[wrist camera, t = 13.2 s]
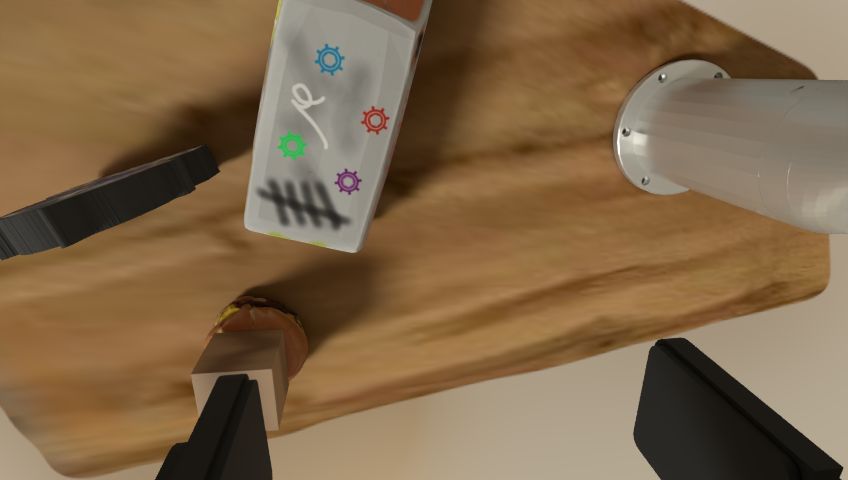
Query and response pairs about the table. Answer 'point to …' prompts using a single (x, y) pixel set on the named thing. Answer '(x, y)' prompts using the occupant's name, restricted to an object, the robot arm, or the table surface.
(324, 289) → the table surface
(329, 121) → the toy car
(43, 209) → the decorative emblem
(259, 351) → the light brown cube
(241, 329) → the burger
